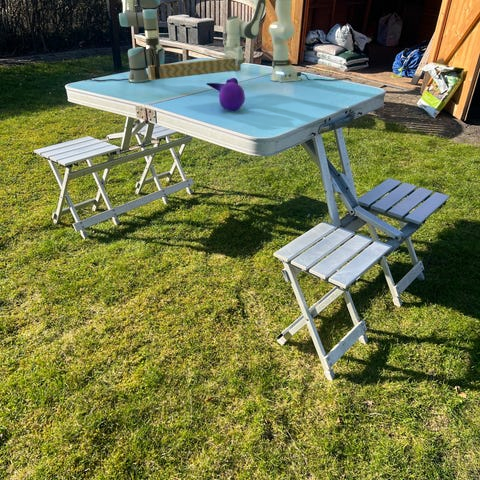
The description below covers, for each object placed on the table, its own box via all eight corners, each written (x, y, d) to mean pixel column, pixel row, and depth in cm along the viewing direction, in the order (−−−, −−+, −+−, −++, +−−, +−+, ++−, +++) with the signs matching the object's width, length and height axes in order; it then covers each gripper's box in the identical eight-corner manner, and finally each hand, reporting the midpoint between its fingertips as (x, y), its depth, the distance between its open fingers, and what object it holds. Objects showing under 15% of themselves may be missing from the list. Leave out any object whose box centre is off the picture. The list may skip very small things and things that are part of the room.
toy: (230, 101, 277) (244, 117, 257) (203, 96, 270) (216, 112, 249) (236, 75, 269) (252, 89, 249) (209, 70, 262) (222, 84, 241)
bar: (151, 80, 282) (150, 66, 278) (149, 79, 285) (147, 65, 281) (240, 70, 308) (240, 57, 304) (237, 69, 312) (237, 57, 308)
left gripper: (162, 38, 268) (166, 79, 280) (152, 36, 281) (157, 75, 293) (150, 39, 265) (155, 80, 277) (141, 37, 278) (146, 76, 290)
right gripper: (245, 44, 293) (245, 67, 300) (230, 41, 309) (231, 62, 316) (236, 45, 291) (237, 68, 298) (222, 42, 306) (223, 63, 313)
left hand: (156, 77), depth 285 cm, fingers closed on bar, 4 cm apart
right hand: (234, 65), depth 307 cm, fingers closed on bar, 4 cm apart
